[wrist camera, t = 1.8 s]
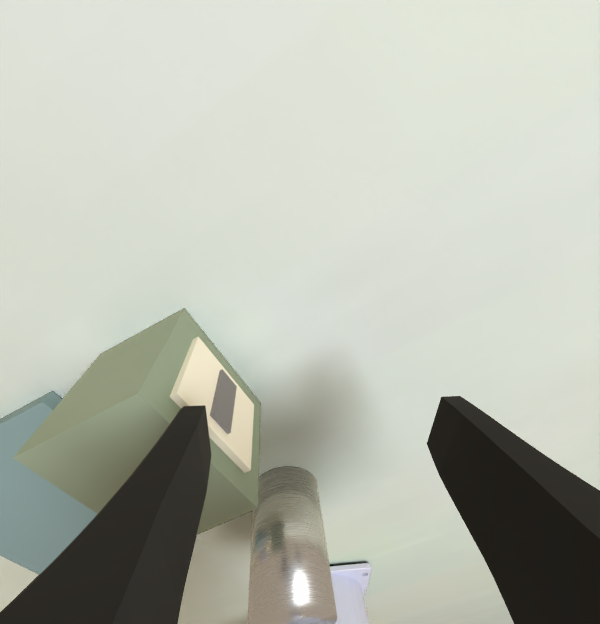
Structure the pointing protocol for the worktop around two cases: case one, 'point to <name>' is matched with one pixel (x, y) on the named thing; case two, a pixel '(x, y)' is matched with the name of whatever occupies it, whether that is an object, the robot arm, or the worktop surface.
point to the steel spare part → (289, 553)
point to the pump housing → (151, 420)
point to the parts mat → (33, 497)
